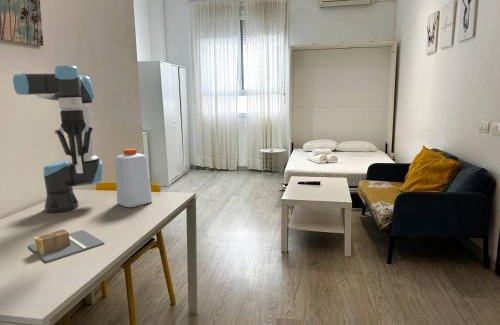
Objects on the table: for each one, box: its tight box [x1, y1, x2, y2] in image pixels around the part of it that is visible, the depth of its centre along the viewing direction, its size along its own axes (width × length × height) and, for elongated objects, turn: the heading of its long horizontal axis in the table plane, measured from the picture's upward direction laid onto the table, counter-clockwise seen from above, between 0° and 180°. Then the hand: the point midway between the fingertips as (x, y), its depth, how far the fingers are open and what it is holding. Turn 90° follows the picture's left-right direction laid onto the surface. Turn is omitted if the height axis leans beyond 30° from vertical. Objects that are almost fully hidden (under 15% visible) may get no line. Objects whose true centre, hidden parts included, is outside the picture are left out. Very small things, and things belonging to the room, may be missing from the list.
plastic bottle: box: [115, 148, 153, 209], centre depth 183 cm, size 15×15×28 cm
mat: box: [27, 229, 105, 263], centre depth 135 cm, size 20×20×1 cm
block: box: [33, 229, 70, 254], centre depth 131 cm, size 5×5×10 cm
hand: (79, 172), depth 136 cm, fingers closed
